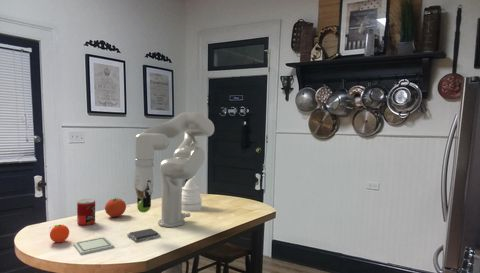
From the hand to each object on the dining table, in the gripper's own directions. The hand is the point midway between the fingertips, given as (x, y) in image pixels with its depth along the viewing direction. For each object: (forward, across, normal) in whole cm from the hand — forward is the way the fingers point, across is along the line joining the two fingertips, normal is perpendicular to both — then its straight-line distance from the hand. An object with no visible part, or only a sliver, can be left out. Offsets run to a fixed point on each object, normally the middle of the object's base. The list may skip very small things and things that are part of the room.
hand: (143, 205), depth 138 cm
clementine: (+14, -14, -30) cm, 36 cm away
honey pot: (+14, -30, +40) cm, 52 cm away
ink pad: (+14, 0, 0) cm, 14 cm away
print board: (+14, -1, -20) cm, 24 cm away
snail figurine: (+3, 0, 0) cm, 3 cm away
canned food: (+14, -33, -15) cm, 39 cm away
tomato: (+14, -37, 0) cm, 40 cm away
